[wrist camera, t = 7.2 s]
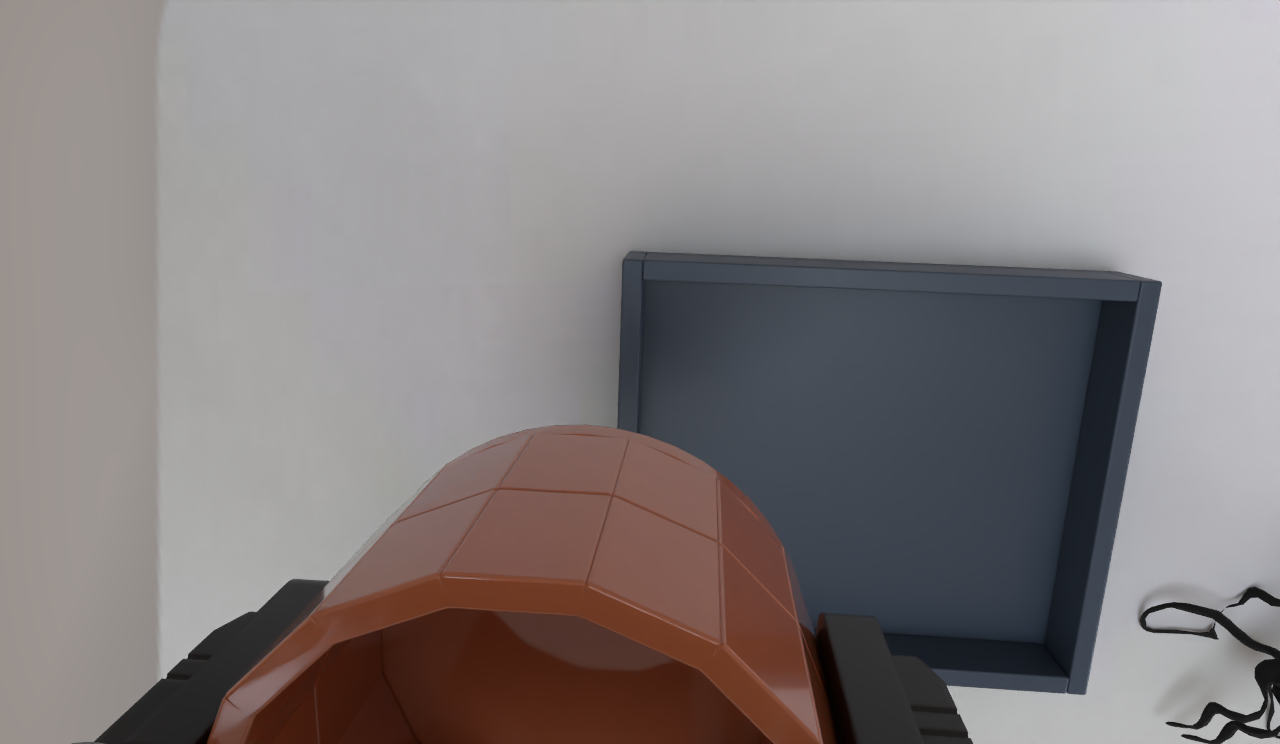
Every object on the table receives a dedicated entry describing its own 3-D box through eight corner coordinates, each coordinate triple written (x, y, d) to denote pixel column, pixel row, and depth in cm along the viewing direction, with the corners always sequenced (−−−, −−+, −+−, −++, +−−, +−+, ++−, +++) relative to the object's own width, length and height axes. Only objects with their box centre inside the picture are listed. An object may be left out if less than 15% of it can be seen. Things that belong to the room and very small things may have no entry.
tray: (617, 623, 29) (610, 663, 27) (629, 251, 26) (622, 259, 24) (1052, 651, 29) (1086, 695, 26) (1118, 271, 25) (1163, 281, 23)
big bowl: (382, 799, 13) (222, 1106, 9) (360, 412, 12) (152, 555, 7) (789, 833, 13) (832, 1177, 8) (823, 434, 11) (896, 602, 7)
